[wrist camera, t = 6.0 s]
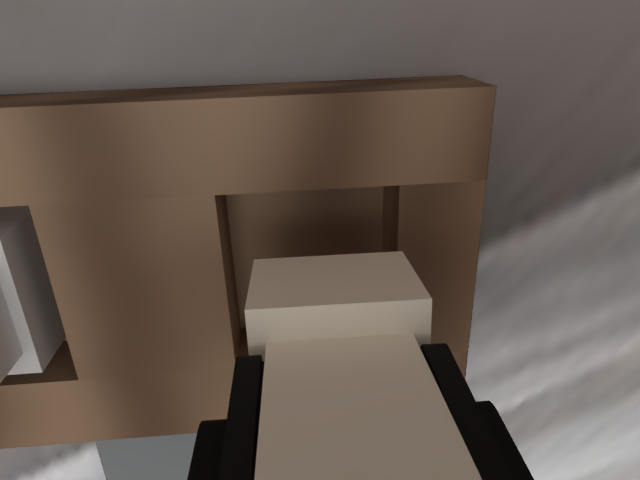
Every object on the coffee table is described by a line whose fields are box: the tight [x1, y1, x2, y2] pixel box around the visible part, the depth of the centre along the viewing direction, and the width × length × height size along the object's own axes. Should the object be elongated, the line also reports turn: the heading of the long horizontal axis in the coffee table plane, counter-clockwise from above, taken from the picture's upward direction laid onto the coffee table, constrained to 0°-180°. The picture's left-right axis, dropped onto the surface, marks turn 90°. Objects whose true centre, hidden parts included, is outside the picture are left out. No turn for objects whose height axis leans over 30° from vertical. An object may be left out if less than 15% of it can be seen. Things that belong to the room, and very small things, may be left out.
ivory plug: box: [244, 251, 482, 480], centre depth 10 cm, size 4×5×8 cm
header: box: [0, 75, 496, 449], centre depth 17 cm, size 22×12×3 cm, turn 92°
